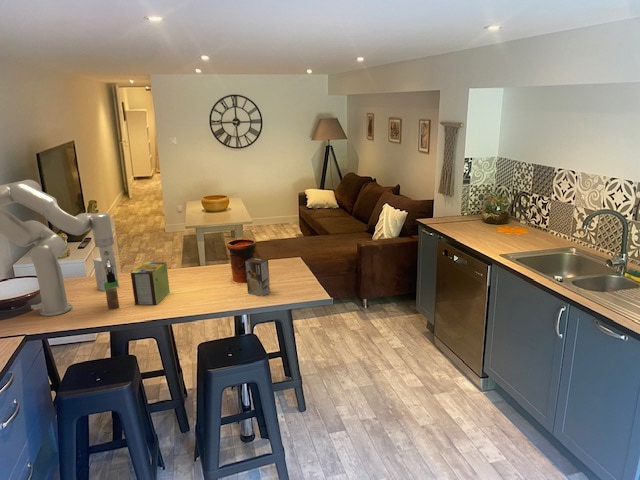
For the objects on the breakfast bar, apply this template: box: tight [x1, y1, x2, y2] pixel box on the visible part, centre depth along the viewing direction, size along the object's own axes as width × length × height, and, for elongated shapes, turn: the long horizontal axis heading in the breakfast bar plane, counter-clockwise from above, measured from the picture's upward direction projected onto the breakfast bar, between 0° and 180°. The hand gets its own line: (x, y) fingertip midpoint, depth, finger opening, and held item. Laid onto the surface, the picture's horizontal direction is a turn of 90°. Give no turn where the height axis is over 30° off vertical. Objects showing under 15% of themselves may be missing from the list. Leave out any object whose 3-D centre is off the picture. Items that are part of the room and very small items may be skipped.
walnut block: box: [105, 288, 120, 311], centre depth 212 cm, size 4×4×8 cm
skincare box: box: [93, 256, 120, 292], centre depth 234 cm, size 8×7×16 cm
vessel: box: [226, 238, 257, 285], centre depth 241 cm, size 14×14×20 cm
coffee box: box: [245, 257, 271, 297], centre depth 224 cm, size 9×6×16 cm
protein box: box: [130, 261, 171, 306], centre depth 220 cm, size 10×15×16 cm
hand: (111, 279), depth 210 cm, fingers open, 9 cm apart
